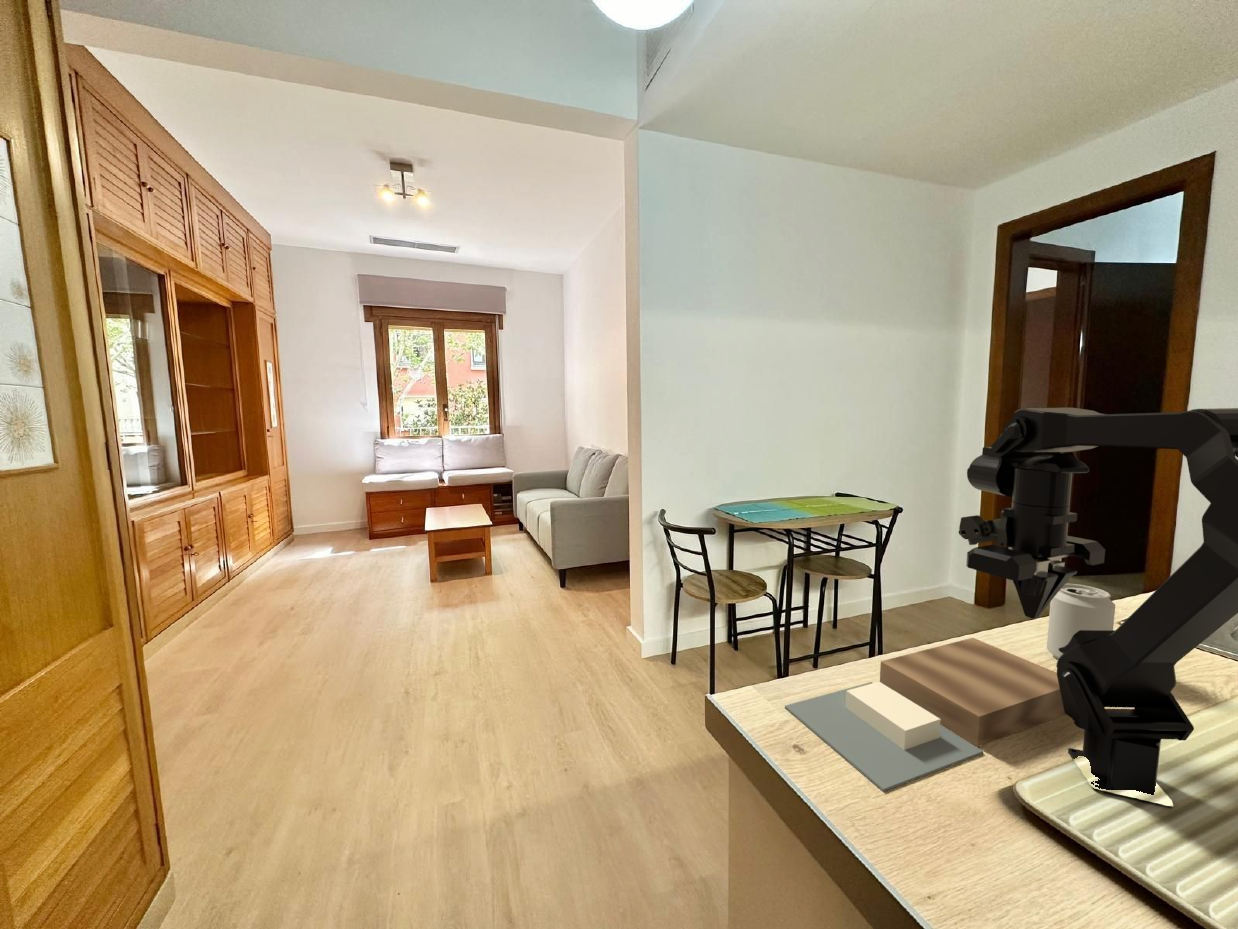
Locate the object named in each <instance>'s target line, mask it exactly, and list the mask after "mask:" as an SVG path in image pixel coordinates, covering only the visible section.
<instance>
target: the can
mask: <svg viewBox="0 0 1238 929" xmlns="http://www.w3.org/2000/svg"><path fill="white" fill-rule="evenodd" d="M1048 614H1049V616H1048V626H1047V627H1048V628H1047V640H1046V649H1047V651H1048V653H1050V654H1051V655H1052V656H1053V657H1054V658H1055V659H1056V660H1058V659H1059V657H1060V656H1061V655H1062V654H1063V653H1062V652H1060V651H1059V648H1062V647H1065V646H1066V645H1067V644H1068V643H1069V642H1070V640H1071V639H1072V637H1073V635H1074V634H1075V633H1077V632H1078V631H1080V630H1114V624H1115V614H1116V604H1115V602H1114V601H1112V599H1111V594H1110V593H1109V592H1107V591H1105V590H1103V589H1100V588H1097V587H1093V586H1089V585H1084V584H1079V583H1078V584H1077V583H1066V584H1065V585H1064V586H1063V587H1062V588H1061V589H1060V591H1059V592H1058V593H1057V594H1056V595H1055V597H1054V598H1053V599H1052V600H1051V602H1050V603H1049V613H1048Z"/></svg>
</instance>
